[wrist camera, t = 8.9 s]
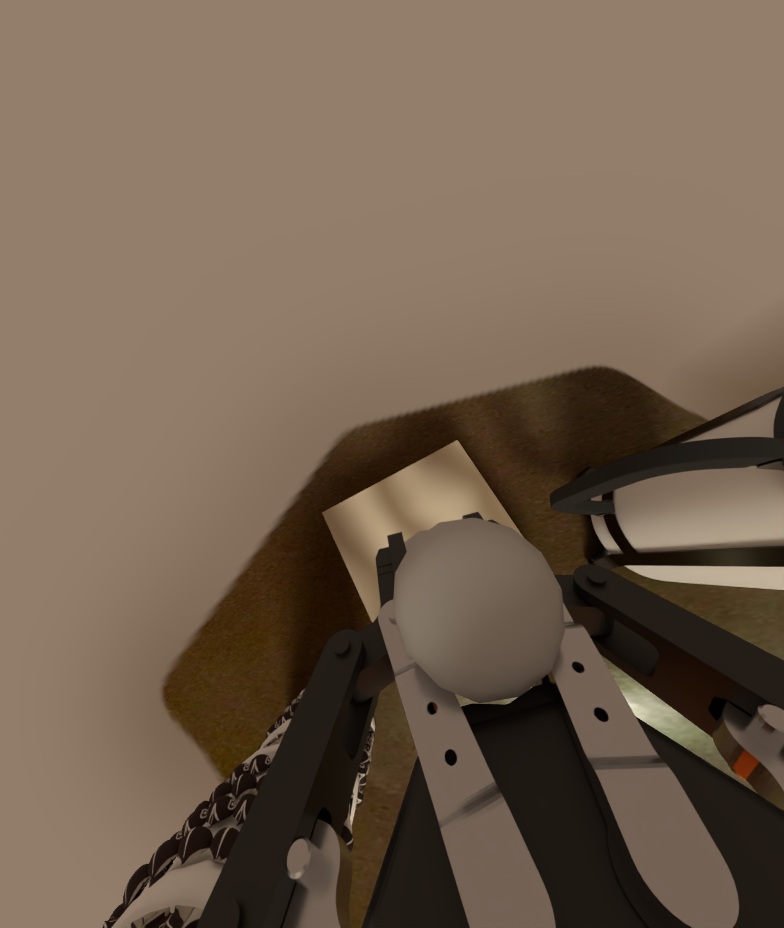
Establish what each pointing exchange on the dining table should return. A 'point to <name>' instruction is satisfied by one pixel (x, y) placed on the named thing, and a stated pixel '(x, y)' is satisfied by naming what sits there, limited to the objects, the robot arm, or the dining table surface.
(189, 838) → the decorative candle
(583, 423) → the dining table surface
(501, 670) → the salt shaker
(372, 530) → the wood block
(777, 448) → the coffee press
